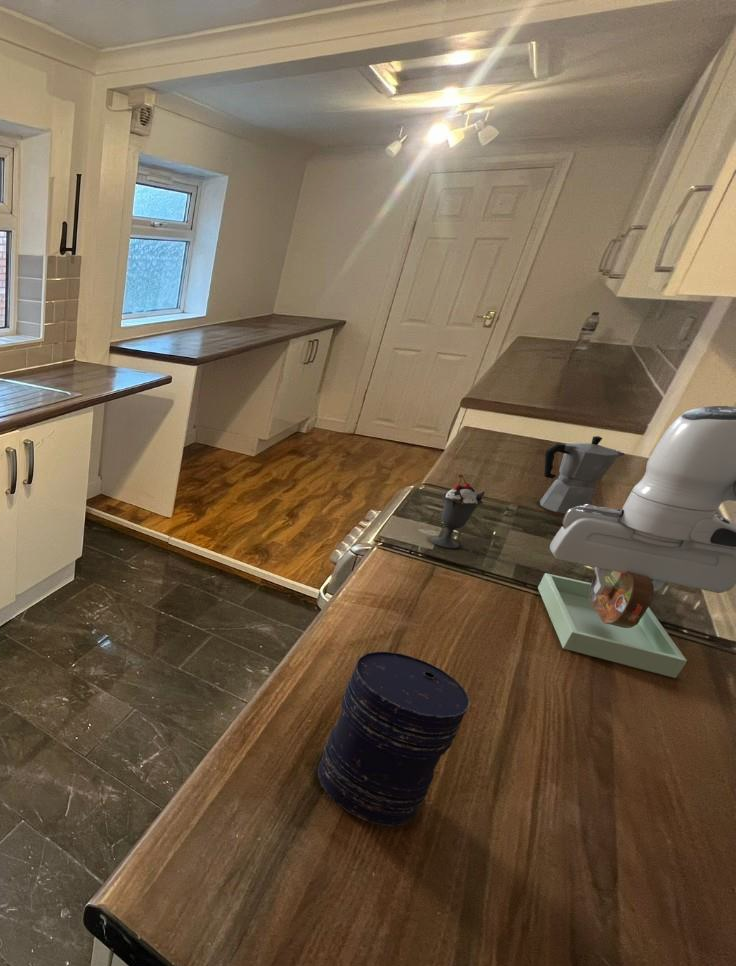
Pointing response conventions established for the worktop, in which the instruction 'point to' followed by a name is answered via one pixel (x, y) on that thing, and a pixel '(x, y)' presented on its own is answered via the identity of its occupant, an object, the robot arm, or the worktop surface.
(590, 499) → the coffeepot
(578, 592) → the tray
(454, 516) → the sundae
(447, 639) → the worktop surface
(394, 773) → the navy ribbed drum
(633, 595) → the tin
